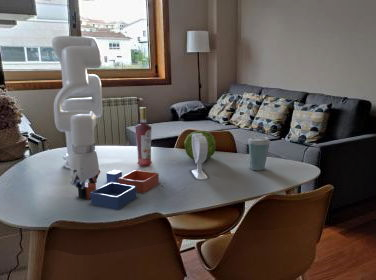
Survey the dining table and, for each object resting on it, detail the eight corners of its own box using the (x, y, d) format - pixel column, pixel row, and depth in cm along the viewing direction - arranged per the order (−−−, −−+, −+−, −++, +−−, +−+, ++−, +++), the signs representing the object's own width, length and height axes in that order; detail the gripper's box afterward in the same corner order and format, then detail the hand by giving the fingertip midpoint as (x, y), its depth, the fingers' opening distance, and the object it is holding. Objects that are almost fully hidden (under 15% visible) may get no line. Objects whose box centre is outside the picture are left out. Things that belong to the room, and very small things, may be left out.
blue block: (106, 183, 147) (106, 172, 146) (113, 179, 151) (113, 169, 150) (115, 184, 145) (115, 174, 144) (122, 181, 149) (121, 171, 148)
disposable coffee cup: (243, 169, 167) (244, 138, 164) (250, 163, 177) (252, 134, 174) (265, 173, 164) (266, 141, 160) (271, 166, 173) (273, 136, 170)
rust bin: (119, 188, 141) (118, 178, 140) (135, 179, 151) (135, 169, 150) (143, 193, 137) (143, 182, 136) (158, 183, 147) (158, 173, 146)
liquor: (144, 168, 165) (142, 109, 159) (133, 166, 169) (131, 107, 162) (155, 164, 171) (154, 107, 165) (144, 162, 175) (142, 105, 168)
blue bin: (91, 204, 126) (90, 192, 125) (111, 193, 136) (110, 182, 135) (117, 209, 122) (117, 197, 121) (136, 197, 133) (136, 186, 132)
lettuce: (216, 158, 194) (211, 130, 195) (220, 156, 173) (215, 126, 174) (186, 163, 191) (182, 135, 192) (187, 162, 171) (182, 131, 172)
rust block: (78, 197, 132) (77, 186, 131) (87, 193, 136) (86, 182, 135) (88, 199, 130) (87, 187, 129) (96, 194, 135) (95, 183, 133)
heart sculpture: (190, 169, 166) (190, 131, 162) (200, 168, 168) (200, 131, 164) (197, 180, 152) (197, 139, 148) (209, 179, 154) (209, 138, 149)
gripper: (91, 142, 138) (94, 186, 142) (57, 153, 122) (62, 202, 127) (107, 144, 135) (110, 189, 140) (75, 155, 120) (79, 205, 124)
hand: (87, 195), depth 133 cm, fingers closed on rust block, 4 cm apart
